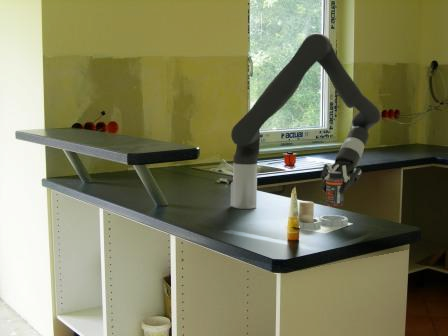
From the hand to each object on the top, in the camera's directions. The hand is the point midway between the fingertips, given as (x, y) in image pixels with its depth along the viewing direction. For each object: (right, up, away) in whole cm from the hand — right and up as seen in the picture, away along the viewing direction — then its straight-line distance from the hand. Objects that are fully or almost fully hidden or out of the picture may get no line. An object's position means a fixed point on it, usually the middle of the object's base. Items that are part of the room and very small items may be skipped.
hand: (332, 191), depth 220 cm
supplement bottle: (+1, -5, +2) cm, 5 cm away
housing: (-4, -12, +1) cm, 13 cm away
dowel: (-9, -11, -2) cm, 15 cm away
